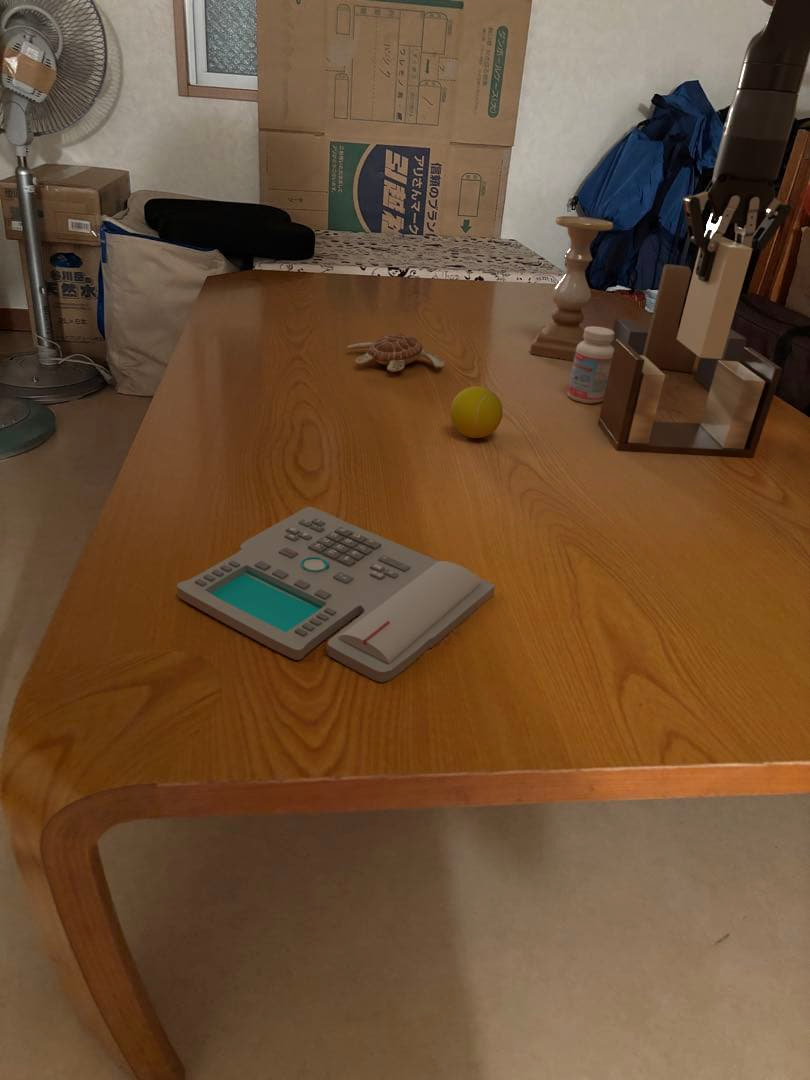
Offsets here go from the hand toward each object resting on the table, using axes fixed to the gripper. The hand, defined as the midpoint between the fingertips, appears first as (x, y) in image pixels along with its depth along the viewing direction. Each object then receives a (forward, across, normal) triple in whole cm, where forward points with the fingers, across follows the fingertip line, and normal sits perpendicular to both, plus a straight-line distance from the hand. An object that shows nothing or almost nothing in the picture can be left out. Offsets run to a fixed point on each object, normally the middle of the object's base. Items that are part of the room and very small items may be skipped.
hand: (716, 280), depth 102 cm
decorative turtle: (+23, -40, +30) cm, 55 cm away
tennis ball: (+23, -30, -2) cm, 38 cm away
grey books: (+23, +8, +26) cm, 36 cm away
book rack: (+23, 0, 0) cm, 23 cm away
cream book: (+9, 0, 0) cm, 9 cm away
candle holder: (+23, -7, +44) cm, 50 cm away
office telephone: (+23, -48, -44) cm, 69 cm away
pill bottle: (+23, -9, +16) cm, 30 cm away
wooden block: (+23, +12, +38) cm, 46 cm away
